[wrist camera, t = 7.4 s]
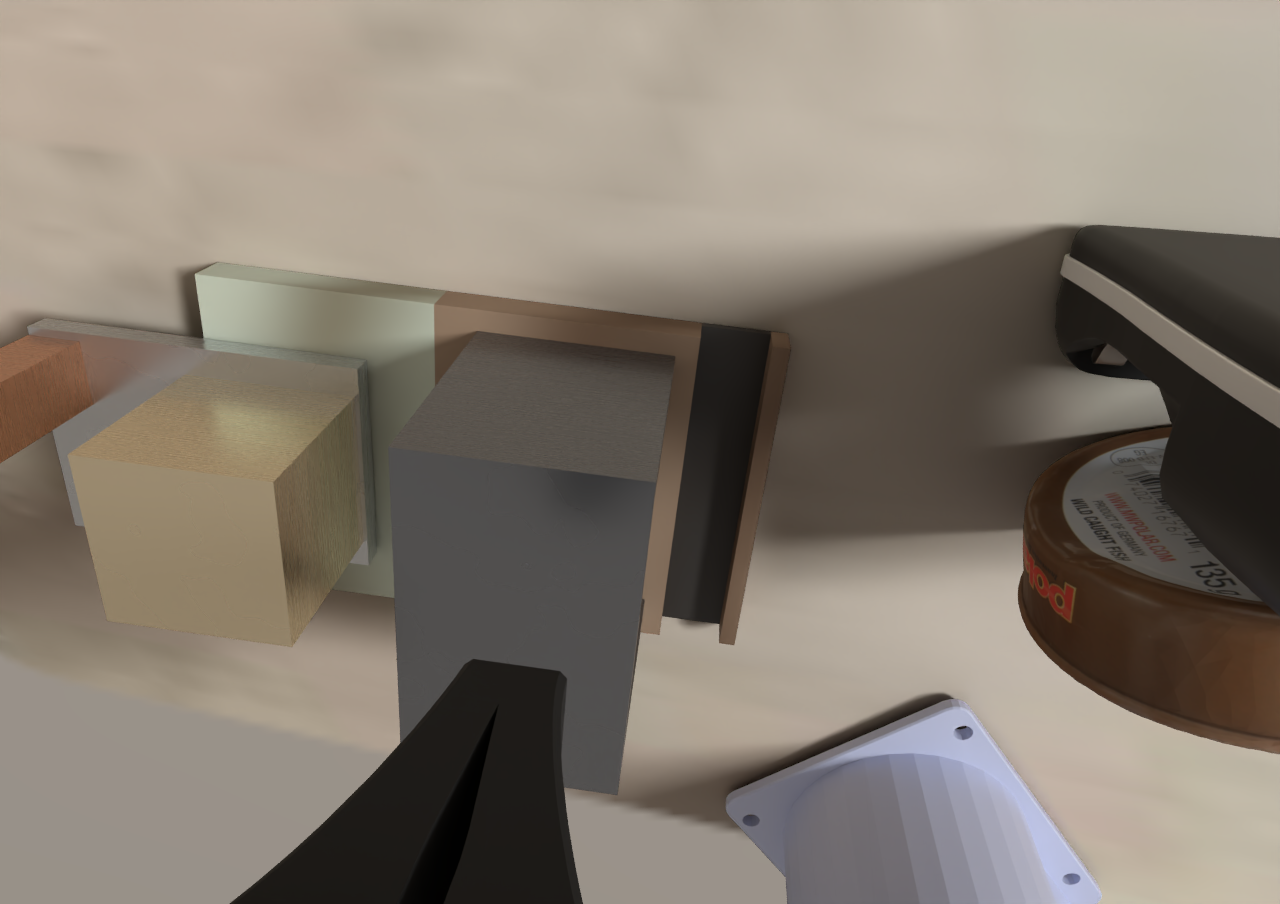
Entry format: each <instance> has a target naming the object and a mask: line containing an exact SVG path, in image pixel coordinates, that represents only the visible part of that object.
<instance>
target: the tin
mask: <svg viewBox="0 0 1280 904" xmlns="http://www.w3.org/2000/svg"><path fill="white" fill-rule="evenodd" d="M1171 430H1172V427H1165V428H1158V429H1151V430H1145V431H1138V432H1133V433H1128V434H1124V435H1119V436H1115V437H1111V438H1108V439H1105V440H1101V441H1098V442H1096V443H1093V444H1090V445H1087V446H1085V447H1082V448H1080V449H1077V450H1075V451H1072V452H1071V453H1069V454H1067V455H1066V456H1064V457H1062V458H1061V459H1059V460H1058V461H1056V462H1055V463H1053V464H1052V465H1051V466H1050V467H1049V468H1048V469H1047V470H1045V471H1044V472H1043V473H1042V474H1041V475H1040V477H1039V478H1038V479H1037V481H1036V482H1035V483H1034V485H1033V487H1032V489H1031V491H1030V493H1029V496H1028V499H1027V503H1026V507H1025V515H1024V527H1023V566H1024V571H1023V573H1022V576H1021V579H1020V583H1019V587H1018V604H1019V608H1020V612H1021V616H1022V619H1023V621H1024V623H1025V626H1026V628H1027V630H1028V631H1029V633H1030V635H1031V636H1032V638H1033V639H1034V640H1035V642H1036V643H1037V645H1038V646H1039V647H1040V648H1041V649H1042V650H1043V652H1044V653H1045V654H1046V655H1047V656H1048V657H1049V658H1050V659H1051V660H1052V661H1053V662H1054V663H1055V664H1057V665H1058V666H1059V667H1060V668H1061V669H1062V670H1063V671H1065V672H1066V673H1067V674H1069V675H1070V676H1071V677H1073V678H1074V679H1075V680H1076V681H1078V682H1079V683H1081V684H1083V685H1084V686H1086V687H1088V688H1089V689H1091V690H1092V691H1094V692H1095V693H1097V694H1098V695H1100V696H1102V697H1104V698H1105V699H1107V700H1109V701H1111V702H1113V703H1114V704H1116V705H1118V706H1120V707H1122V708H1124V709H1126V710H1128V711H1130V712H1132V713H1134V714H1137V715H1139V716H1141V717H1144V718H1147V719H1150V720H1152V721H1155V722H1157V723H1160V724H1163V725H1166V726H1168V727H1171V728H1173V729H1176V730H1180V731H1184V732H1187V733H1190V734H1193V735H1196V736H1199V737H1203V738H1207V739H1211V740H1214V741H1218V742H1221V743H1225V744H1230V745H1234V746H1239V747H1244V748H1248V749H1255V750H1261V751H1265V752H1270V753H1275V754H1280V616H1279V615H1278V614H1277V613H1276V612H1274V611H1273V610H1272V609H1271V608H1270V607H1269V606H1268V605H1266V604H1265V603H1264V602H1263V601H1262V600H1261V599H1260V598H1259V597H1257V596H1256V595H1255V594H1254V593H1253V592H1252V591H1251V590H1250V589H1249V588H1248V587H1247V586H1245V585H1244V584H1243V583H1242V582H1241V581H1240V580H1239V579H1238V578H1237V577H1236V576H1234V575H1233V574H1232V573H1231V572H1230V571H1229V570H1228V569H1227V568H1226V567H1225V566H1224V565H1223V564H1222V563H1221V562H1220V561H1219V560H1218V559H1217V558H1216V557H1214V556H1213V555H1212V554H1211V553H1210V552H1209V551H1208V550H1207V549H1206V548H1205V546H1204V545H1203V544H1202V543H1201V542H1200V540H1199V539H1198V538H1197V537H1196V536H1195V535H1194V533H1193V532H1192V531H1191V530H1190V529H1189V527H1188V526H1187V525H1186V524H1185V523H1184V522H1183V520H1182V519H1181V518H1180V517H1179V516H1178V515H1177V514H1176V513H1175V511H1174V510H1173V509H1172V508H1171V507H1170V506H1169V505H1168V504H1167V503H1166V501H1165V500H1164V499H1163V498H1162V494H1161V485H1160V477H1159V474H1160V470H1161V465H1162V461H1163V456H1164V452H1165V447H1166V444H1167V441H1168V438H1169V436H1170V433H1171Z"/></svg>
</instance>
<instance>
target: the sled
mask: <svg viewBox="0 0 1280 904" xmlns="http://www.w3.org/2000/svg"><path fill="white" fill-rule="evenodd" d="M27 329H28V333H29V335H27V336H25V337H23V338H21V339H19V340H17V341H15V342H13V343H11V344H8V345H6V346H4V347H2V348H0V463H1V462H3V461H5V460H6V459H8V458H9V457H11V456H13V455H14V454H16V453H17V452H19V451H20V450H22V449H24V448H25V447H27V446H28V445H30V444H32V443H33V442H35V441H36V440H38V439H39V438H41V437H43V436H44V435H46V434H47V433H49V432H51V431H53V436H54V440H55V444H56V448H57V452H58V456H59V460H60V464H61V468H62V472H63V477H64V481H65V485H66V489H67V493H68V497H69V501H70V505H71V509H72V514H73V518H74V522H75V525H76V526H84V527H85V530H86V534H87V539H88V543H89V547H90V551H91V555H92V560H93V564H94V568H95V572H96V576H97V581H98V585H99V589H100V593H101V597H102V602H103V606H104V610H105V614H106V619H107V621H111V622H118V623H125V624H132V625H139V626H146V627H153V628H161V629H168V630H175V631H182V632H189V633H196V634H203V635H210V636H217V637H224V638H231V639H239V640H246V641H253V642H260V643H267V644H274V645H281V646H288V647H292V646H293V645H294V643H295V642H296V641H297V639H298V638H299V636H300V635H301V633H302V632H303V630H304V629H305V627H306V626H307V624H308V623H309V621H310V620H311V619H312V617H313V616H314V614H315V613H316V611H317V610H318V608H319V607H320V605H321V604H322V602H323V601H324V599H325V598H326V596H327V595H328V594H329V592H330V591H331V589H332V588H333V586H334V585H335V583H336V582H337V580H338V579H339V577H340V576H341V574H342V573H343V571H344V570H345V569H346V567H347V566H348V564H349V563H354V564H361V565H368V566H369V564H370V563H371V561H372V560H373V558H374V557H375V555H376V553H377V539H376V519H375V500H374V481H373V462H372V442H371V423H370V404H369V384H368V365H367V359H360V358H352V357H345V356H337V355H329V354H321V353H313V352H306V351H298V350H290V349H282V348H274V347H267V346H259V345H251V344H243V343H236V342H228V341H220V340H212V339H204V338H197V337H189V336H181V335H173V334H165V333H158V332H150V331H142V330H134V329H126V328H119V327H111V326H103V325H95V324H87V323H80V322H72V321H64V320H56V319H49V318H44V319H42V320H40V321H38V322H36V323H34V324H31V325H29V326H27Z"/></svg>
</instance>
